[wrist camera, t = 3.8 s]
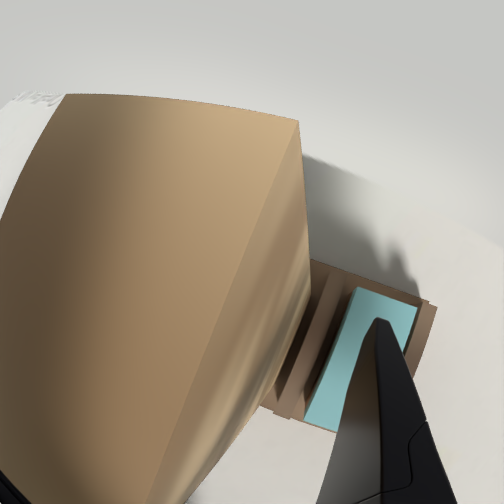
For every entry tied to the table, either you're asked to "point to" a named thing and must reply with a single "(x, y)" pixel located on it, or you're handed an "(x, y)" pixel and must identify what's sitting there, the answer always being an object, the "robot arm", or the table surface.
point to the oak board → (145, 294)
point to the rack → (322, 332)
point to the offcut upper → (353, 352)
